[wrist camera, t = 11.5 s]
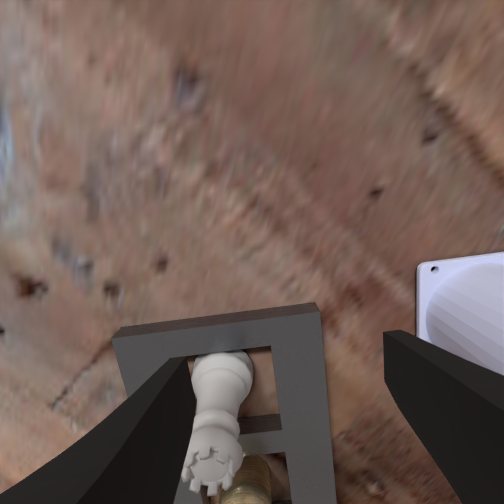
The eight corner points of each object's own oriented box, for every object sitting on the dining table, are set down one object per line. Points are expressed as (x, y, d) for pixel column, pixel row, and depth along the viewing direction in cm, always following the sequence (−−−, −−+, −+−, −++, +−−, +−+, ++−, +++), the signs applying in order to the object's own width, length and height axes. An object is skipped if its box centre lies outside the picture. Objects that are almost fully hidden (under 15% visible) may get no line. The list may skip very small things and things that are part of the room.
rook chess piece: (252, 393, 21) (252, 513, 14) (193, 391, 21) (160, 509, 13) (255, 341, 20) (258, 439, 12) (194, 338, 20) (159, 434, 12)
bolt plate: (314, 302, 20) (336, 340, 15) (333, 513, 24) (354, 595, 19) (121, 327, 20) (79, 373, 15) (176, 530, 24) (158, 615, 20)
